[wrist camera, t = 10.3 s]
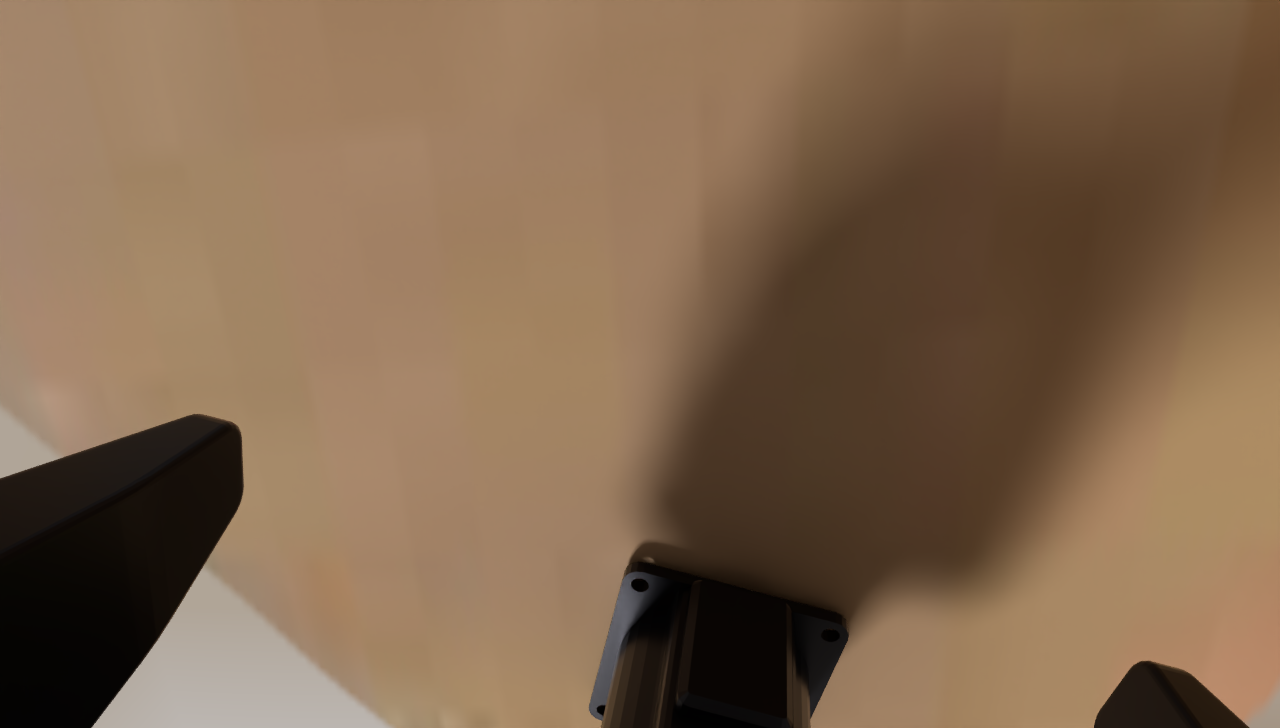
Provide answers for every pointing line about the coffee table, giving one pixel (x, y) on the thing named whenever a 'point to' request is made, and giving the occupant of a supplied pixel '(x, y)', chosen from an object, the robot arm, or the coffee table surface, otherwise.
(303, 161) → the coffee table surface
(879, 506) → the coffee table surface
